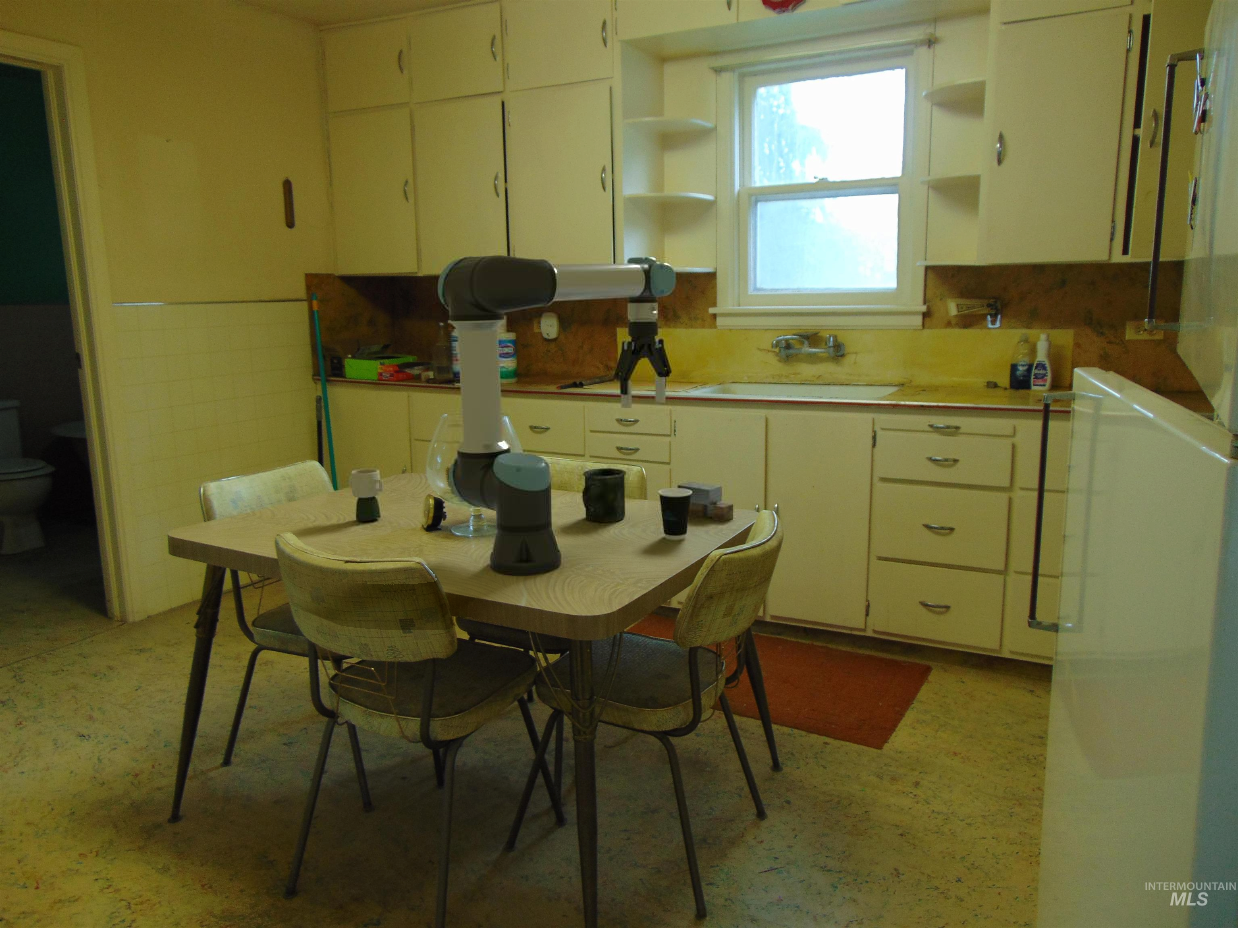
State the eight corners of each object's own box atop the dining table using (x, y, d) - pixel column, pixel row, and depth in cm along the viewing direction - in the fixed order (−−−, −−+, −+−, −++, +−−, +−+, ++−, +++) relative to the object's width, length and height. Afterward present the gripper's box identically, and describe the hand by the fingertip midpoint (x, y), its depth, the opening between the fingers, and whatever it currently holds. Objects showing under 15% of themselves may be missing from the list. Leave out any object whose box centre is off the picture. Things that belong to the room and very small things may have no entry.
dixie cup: (659, 541, 207) (658, 495, 205) (657, 532, 215) (657, 488, 213) (693, 541, 207) (693, 495, 205) (690, 532, 215) (690, 487, 213)
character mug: (394, 519, 233) (391, 470, 230) (375, 525, 226) (372, 475, 224) (361, 515, 237) (358, 467, 235) (342, 521, 231) (338, 472, 229)
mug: (635, 516, 232) (634, 470, 229) (603, 528, 220) (602, 480, 217) (600, 511, 237) (599, 466, 235) (567, 523, 225) (566, 476, 223)
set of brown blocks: (724, 521, 224) (724, 507, 224) (667, 511, 236) (667, 497, 235) (733, 518, 227) (733, 504, 227) (676, 508, 239) (676, 494, 238)
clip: (721, 514, 230) (721, 486, 229) (709, 518, 226) (709, 489, 225) (690, 509, 237) (690, 481, 235) (677, 513, 233) (677, 484, 231)
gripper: (621, 322, 212) (623, 411, 216) (684, 319, 231) (685, 401, 235) (598, 322, 217) (600, 409, 221) (662, 319, 236) (662, 399, 240)
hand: (643, 405), depth 228 cm, fingers open, 13 cm apart
